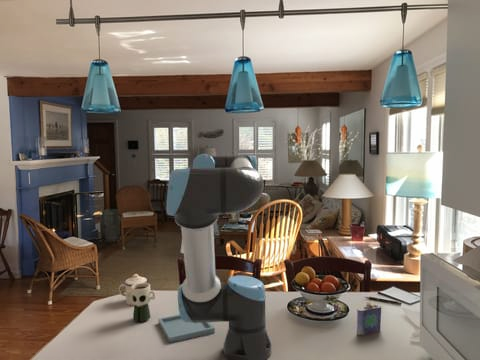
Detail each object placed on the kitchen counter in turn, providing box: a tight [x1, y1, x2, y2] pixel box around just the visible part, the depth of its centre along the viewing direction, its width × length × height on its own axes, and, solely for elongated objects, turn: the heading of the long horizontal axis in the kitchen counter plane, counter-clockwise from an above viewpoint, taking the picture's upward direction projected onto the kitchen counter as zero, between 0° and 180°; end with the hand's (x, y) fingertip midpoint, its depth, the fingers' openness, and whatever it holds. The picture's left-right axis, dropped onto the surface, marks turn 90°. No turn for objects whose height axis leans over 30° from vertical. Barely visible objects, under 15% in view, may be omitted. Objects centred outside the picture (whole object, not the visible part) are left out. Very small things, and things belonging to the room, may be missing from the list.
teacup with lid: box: [118, 273, 148, 306], centre depth 164 cm, size 12×9×12 cm
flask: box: [356, 301, 382, 336], centre depth 135 cm, size 9×3×11 cm, turn 109°
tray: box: [158, 313, 216, 344], centre depth 140 cm, size 16×16×2 cm
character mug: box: [127, 282, 156, 322], centre depth 147 cm, size 11×7×13 cm, turn 86°
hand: (195, 255), depth 142 cm, fingers open, 13 cm apart
